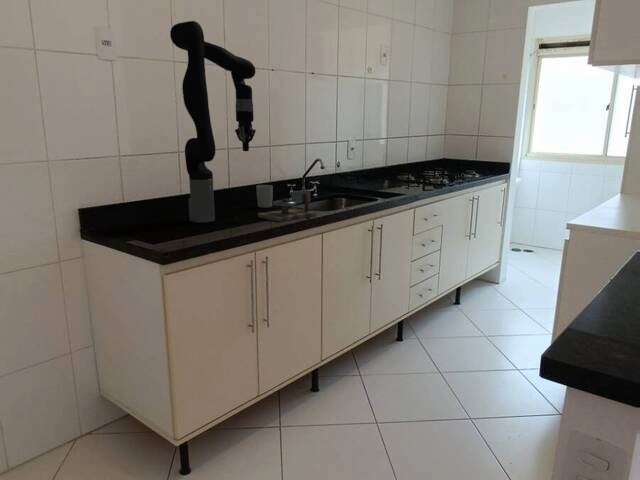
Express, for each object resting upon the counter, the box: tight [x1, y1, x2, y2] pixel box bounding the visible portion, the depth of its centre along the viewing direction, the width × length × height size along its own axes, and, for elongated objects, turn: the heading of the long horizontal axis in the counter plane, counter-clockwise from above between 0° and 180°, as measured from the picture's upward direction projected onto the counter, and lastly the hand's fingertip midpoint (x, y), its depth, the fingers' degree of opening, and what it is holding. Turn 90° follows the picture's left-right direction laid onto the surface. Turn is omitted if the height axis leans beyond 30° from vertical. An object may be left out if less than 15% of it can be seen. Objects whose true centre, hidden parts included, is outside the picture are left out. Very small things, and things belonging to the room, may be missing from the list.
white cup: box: [255, 184, 274, 209], centre depth 237 cm, size 8×8×10 cm
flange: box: [272, 189, 311, 207], centre depth 212 cm, size 18×10×5 cm, turn 131°
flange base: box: [257, 194, 317, 222], centre depth 211 cm, size 20×15×9 cm
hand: (245, 151), depth 218 cm, fingers closed
